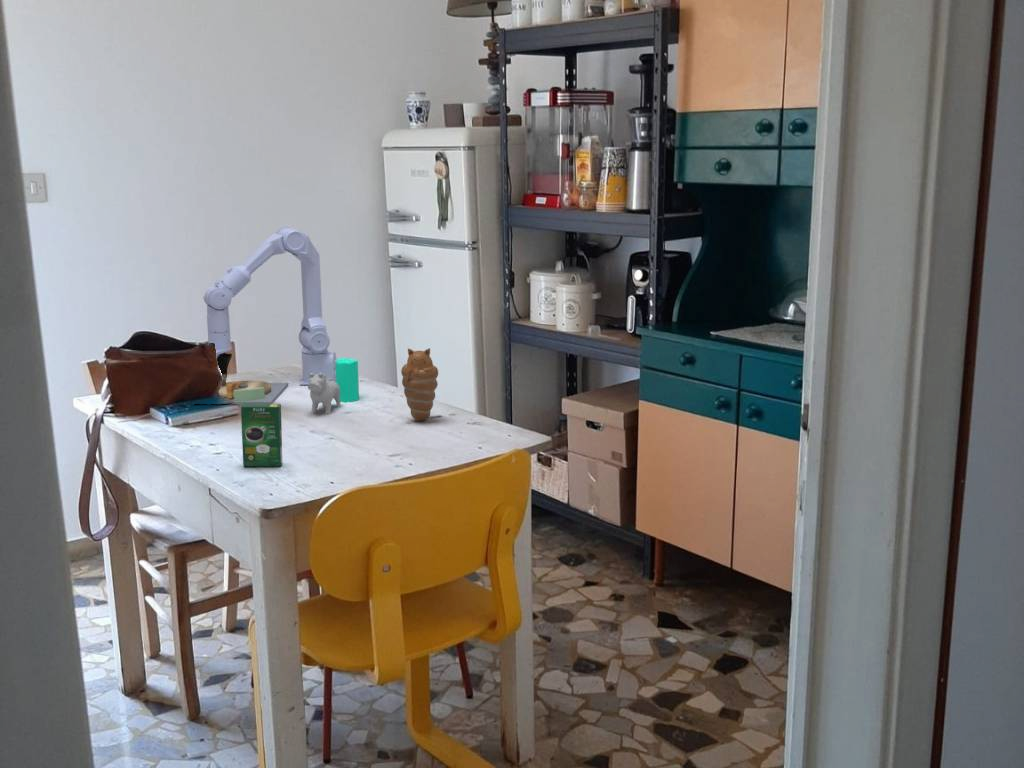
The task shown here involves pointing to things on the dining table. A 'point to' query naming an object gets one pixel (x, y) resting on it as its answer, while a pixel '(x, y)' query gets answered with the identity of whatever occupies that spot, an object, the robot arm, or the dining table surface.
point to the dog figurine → (323, 392)
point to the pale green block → (249, 394)
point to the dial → (241, 386)
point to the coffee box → (261, 435)
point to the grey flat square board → (266, 395)
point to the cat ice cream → (419, 383)
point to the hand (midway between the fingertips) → (221, 380)
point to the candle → (347, 379)
